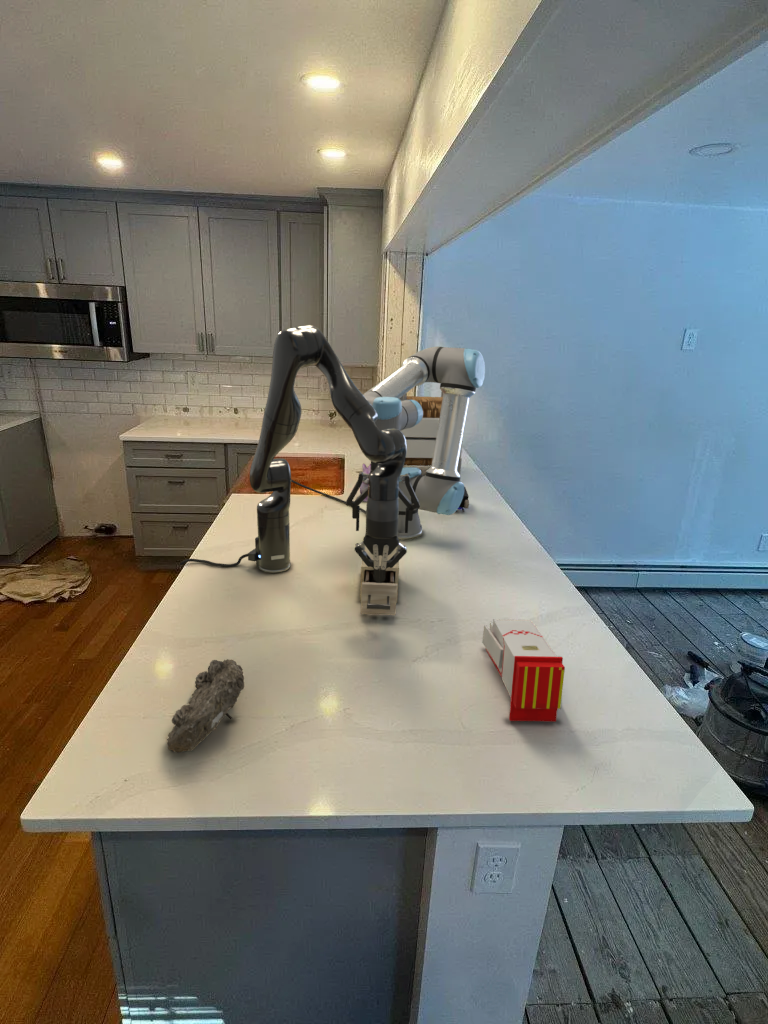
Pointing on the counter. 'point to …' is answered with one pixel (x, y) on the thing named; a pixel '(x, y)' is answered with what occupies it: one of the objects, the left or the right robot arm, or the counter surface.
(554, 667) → the toy
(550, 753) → the counter surface
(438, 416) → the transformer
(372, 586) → the drawer
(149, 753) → the counter surface
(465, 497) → the figurine character
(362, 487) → the figurine
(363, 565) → the cabinet
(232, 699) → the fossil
